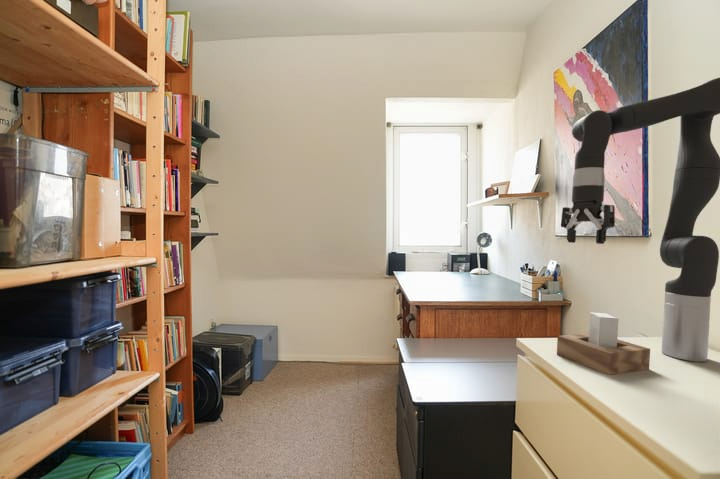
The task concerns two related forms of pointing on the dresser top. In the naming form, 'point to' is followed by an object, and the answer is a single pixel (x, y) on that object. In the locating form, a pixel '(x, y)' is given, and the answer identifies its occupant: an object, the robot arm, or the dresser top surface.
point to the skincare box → (603, 330)
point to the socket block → (604, 354)
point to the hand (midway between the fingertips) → (585, 243)
